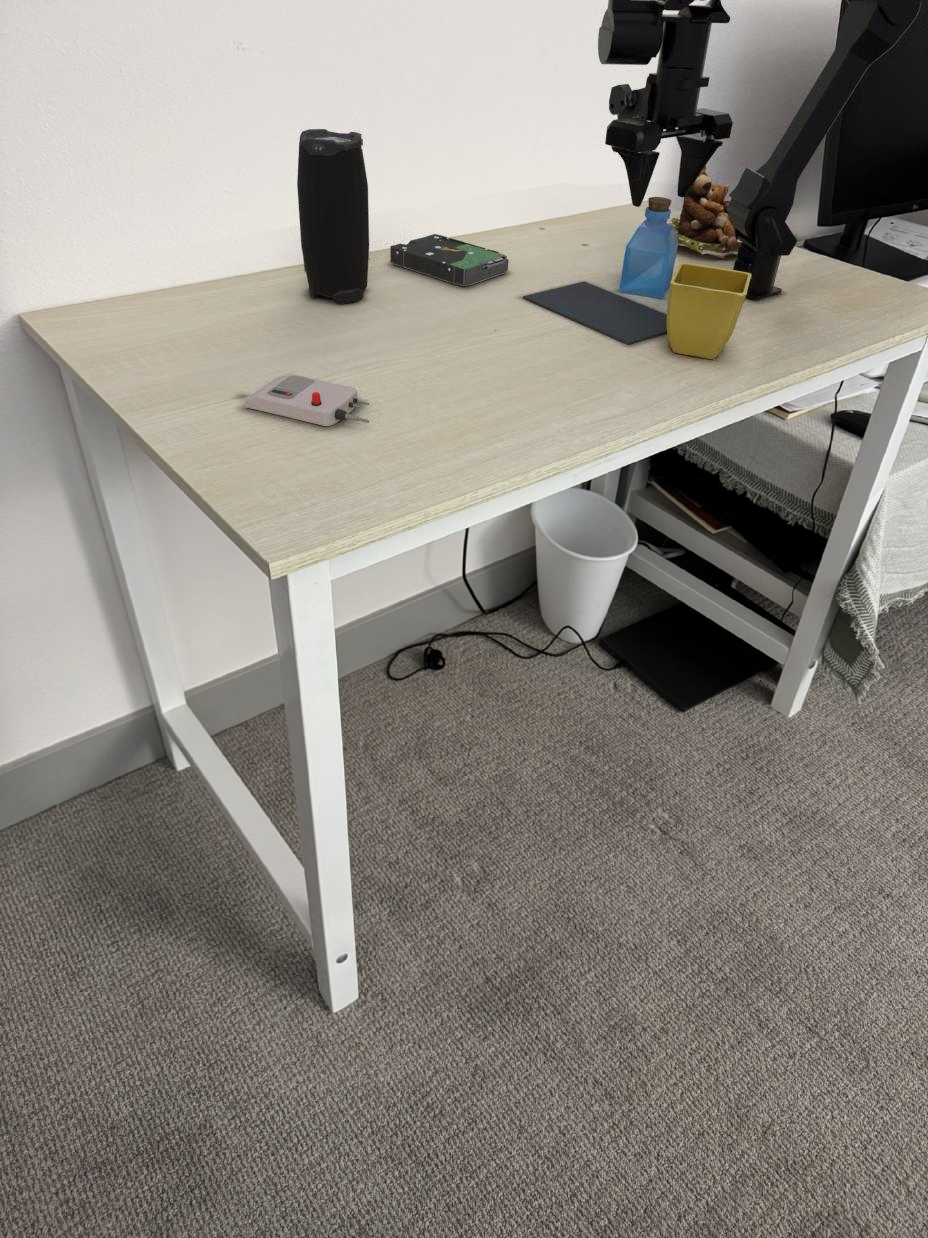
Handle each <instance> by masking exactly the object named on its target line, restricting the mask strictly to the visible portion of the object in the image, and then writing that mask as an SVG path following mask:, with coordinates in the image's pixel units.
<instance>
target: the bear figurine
mask: <svg viewBox="0 0 928 1238" xmlns="http://www.w3.org/2000/svg"><path fill="white" fill-rule="evenodd" d="M706 169H707V164H706V165H705V167H704V168H703V170H702V171H701V173H700V174H699V176H698V177H697V179H696V181H695V182H694V184H693V185H692V187H691V188H690V190H689V191H688V193H687V195H686V196H685V197H683V204H682V207H681V208H682V209H681V212H680V215H679V218H677V217H670V221H671V222H667V223H668V224H673V227H674V230H675V233H676V236H677V239H678V246H681V247H686V248H688V249H691V250H693V251H695V252H698V253H699V254H701V255H705V254H707V255H711V256H714V257H717V258H720V259H723V260H724V259H725V257H727V256H730V255H737V253H738V249H739V247H740V246H741V243H743V242H741V241H739V239H736V238H735V234H734V227H733V226H732V225H731V223H730V221H729V219H728V212H727V208H728V205H729V203H730V200H725V199H726V196H727V195H728V194H729V189H730V186H729V184H726V185H722V184H721V183H714V184H713V183H712V182H713V181H712V180H711V178H710V177H709V175H708V173H707V172H706Z"/></svg>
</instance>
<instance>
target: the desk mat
mask: <svg viewBox="0 0 928 1238" xmlns="http://www.w3.org/2000/svg"><path fill="white" fill-rule="evenodd" d="M522 299H524V300H526V301H528V302H530V303H533V304H535V305H536V306H537V305H538V306H539V307H542V308H544V309H547V311H551V312H553V313H555V314H558V315H560V316H562V317H565V318H566V319H568V320H571V321H573V322H576V323H579V324H580V325H583V326H584V327H587V328H589V329H591V330H594V331H596V332H598V333H601V334H603V335H605V336H608V337H609V338H612V339H614V340H616V341H619V342H621V343H623V344H625V345H628V346H629V345H632V344H636V343H639V342H642V341H646V340H649V339H652V338H656V337H659V336H662V335H666V334H667V313H664V312H662V311H659V310H657V309H654V308H653V307H649V306H646V305H645V304H641V303H640V302H637V301H634V300H632V299H629V298H627V297H625V296H622V295H619V294H617V293H614V292H612V291H609V290H607V289H604V288H602V287H599V286H598V285H597V286H596V285H594V284H592V283H590V282H588V281H580V282H576V283H571V284H568V285H563V286H559V287H556V288H551V289H547V290H542V291H539V292H535V293H530V294H527V295H523V296H522Z"/></svg>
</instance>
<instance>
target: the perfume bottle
mask: <svg viewBox="0 0 928 1238" xmlns="http://www.w3.org/2000/svg"><path fill="white" fill-rule="evenodd" d="M647 200H648V202H647V203H648V206H646V207H645V210H644V217H645V218H646V219H644V220H643V221H642V222H641V223H640V225H638V227H637V228H636V230H635V231H634V233H633V235H632V236H631V237H630V239H629V240H628V242H627V244H626V245H625V248H624V256H623V262H622V268H621V274H620V275H621V276H620V282H619V287H618V292H619V293H624V294H630V295H635V296H643V297H648V298H654V299H660V300H662V299H663V298H664V297H665V295H666V293H667V292H668V290H669V289H670V282H671V279H672V278H673V276H674V268H675V264H676V258H677V253H678V247H679V245H678V239H677V236H676V233H675V230H674V227H673V224H668V223H669V222H668V220H669V219H671V212H672V210H671V209H670V206H671V204H672V199H670V198H667V197H663V196H651V197H648V199H647Z"/></svg>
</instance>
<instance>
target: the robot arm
mask: <svg viewBox="0 0 928 1238" xmlns="http://www.w3.org/2000/svg"><path fill="white" fill-rule="evenodd" d="M695 1H696V0H608V2H607V8H606V10H605V11H604V14H603V16H602V20H601V25H600V26H599V28H598V33H597V34H598V36H597V55H598V60H599V62H600V64H601V65H610V66H611V65H616V66H617V65H618V66H622V65H623V66H647V65H649V64H650V62H651V60H652V59H653V58H656V59H657V57H658V60H657V65H656V72H649V73H648V75H647V77H646V81H645V86H644V87H641V88H638V89H632V87H631V86H630V84H629V83H624V84H623V83H622V84H617V85H615V86H611V88H610V94H609V99H608V111H609V113H610V114H611V115H612V116H616V118H617V119H612V121H611V122H610V123H609V124H608V125H607V126H606V131H605V140H604V144H605V145H606V146H610V147H611V150H612V152H613V153H617V154H618V155H619V157H620V158H621V159H622V161H623V164H624V168H625V171H626V175H627V180H628V187H629V194H630V197H631V198H630V199H631V202H632V206H634V207H637V208H640V207H641V206H642V203H643V201H644V198H645V196H646V193H647V191H648V188H649V185H650V182H651V180H652V177H653V174H654V171H655V168H656V165H657V164H658V159H659V157H660V154H661V153H660V152H659V151H656V150H657V148H658V147H659V146H660V144H661V142H662V140H664V139H670V138H675V139H676V141H677V143H678V146H679V149H680V162H679V171H678V179H677V191H676V192H677V193H676V195H677V196H678V197H679V198H683V199H684V197H685V196H686V195H687V193H688V191H689V190H690V188H691V187H692V185H693V184H694V182H695V181H696V179H697V177H698V176H699V174H700V173H701V171H702V170H703V168H704V167H705V165H706V166H707V164H708V162H709V161H710V160H711V159H712V157H713V156H714V154H715V153H716V151H717V150H718V149H719V148H720V147H722V146H723V144H724V141H723V140H727V139H730V138H731V133H732V129H733V125H734V124H733V123H734V122H733V120H732V118H731V116H730V113H728V112H724V111H723V112H722V111H718V110H714V109H713V110H712V109H708V108H703V107H700V108H698V106H699V105H698V104H699V99H700V95H701V94H700V93H701V88H708V87H709V84H710V83H709V82H710V77H709V76H704V72H705V65H706V59H707V54H708V48H709V42H710V36H711V31H712V26H713V24H728V23H730V21H731V16H730V15H729V14H728V12H727V11H726V10H725V8H724V6H723V4H722V0H709V1H708V2H707V3H706V4H704V5H703V4H701V5H700V4H692V3H694V2H695ZM700 1H705V0H700ZM846 2H847V7H846V9H845V11H844V14H843V17H842V18H841V21H840V25H839V31H838V35H837V39H836V45H835V48H834V50H833V52H832V54H831V56H830V57H829V59H828V60H827V62H826V64H825V66H824V67H823V69H822V70H821V72H820V74H819V75H818V77H817V79H816V81H815V82H814V84H813V86H812V87H811V89H810V91H809V92H808V94H807V96H806V97H805V98H804V100H803V102H802V103H801V106H800V107H799V108H798V111H797V112H796V114H795V115H794V117H793V118H792V120H791V122H790V124H789V126H787V127H788V128H786V130H785V132H784V134H783V136H782V137H781V138H780V140H779V142H778V144H777V145H776V147H775V148H774V150H773V152H772V153H771V155H770V157H769V158H768V160H767V161H766V162H765V163H764V164H763V165H761V166H760V167H759V168H757V170H753V169H752V168H750V167H746V168H745V169H744V171H743V172H742V173H741V176H740V178H739V181H738V183H737V185H736V186H735V188H734V189H733V190H732V191H730V193H728V197H729V198H731V199H730V200H729V201H730V203H729V205H728V208H727V212H728V219H729V221H730V223H731V225H732V226H733V227H734V234H735V238H736V239H738V241H739V242H743V243H741V246H740V247H739V249H738V253H737V254H736V258H735V260H734V264H733V267H732V270H736V271H742V272H747V273H751V279H750V283H749V286H748V290H747V294H746V297H745V298H748V299H750V300H754V301H758V300H761V299H765V298H769V297H771V296H774V295H777V294H781V293H783V288H781V287H778V286H775V283H776V282H775V281H776V278H777V274H778V271H779V266H780V263H781V258H782V256H783V257H785V256H790V255H791V253H792V252H793V250H794V248H795V247H796V244H797V243H798V239H797V237H796V236H795V235H794V233H793V231H792V229H791V228H790V227H789V225H788V224H787V222H786V221H787V219H788V217H789V215H790V213H791V210H792V208H793V207H794V204H795V198H796V193H797V187H798V183H799V179H800V177H801V175H802V174H803V172H804V171H805V169H806V168H807V166H808V164H809V163H810V161H811V159H812V158H813V156H814V155H815V153H816V151H817V150H818V148H819V147H820V145H821V144H822V142H823V140H824V139H825V137H826V136H827V134H828V133H829V131H830V129H831V127H832V126H833V124H834V123H835V121H836V119H838V116H839V115H840V113H841V112H842V111H843V108H844V107H845V105H846V104H847V102H848V101H849V99H850V98H851V96H852V94H853V92H854V91H855V89H856V87H857V86H858V85H859V83H860V81H861V80H862V78H863V77H864V75H865V73H866V72H867V70H868V69H869V68H870V66H871V65H873V64H874V63H875V62H876V61H877V60H878V59H879V58H881V57H882V56H884V54H886V53H887V52H888V51H890V50H891V49H892V48H893V47H894V46H895V45H896V44H897V42H899V40H900V39H901V38H902V36H903V35H904V34H905V33H906V32H907V30H908V29H909V28H910V26H911V25H912V24H913V23H914V21H915V20H916V19H917V16H918V15H919V13H920V10H921V6H922V1H921V0H846ZM664 11H669V12H670V11H671V12H677V14H676V13H675V14H674V13H673V14H664Z"/></svg>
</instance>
